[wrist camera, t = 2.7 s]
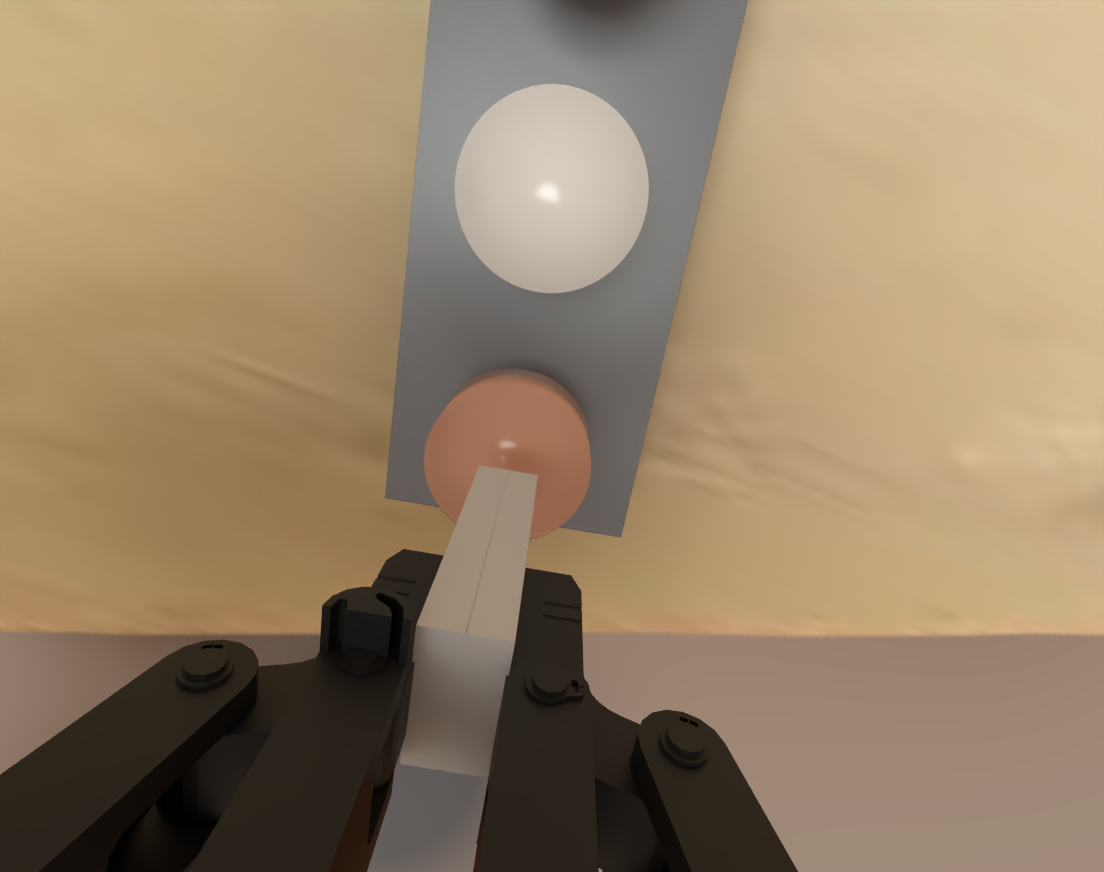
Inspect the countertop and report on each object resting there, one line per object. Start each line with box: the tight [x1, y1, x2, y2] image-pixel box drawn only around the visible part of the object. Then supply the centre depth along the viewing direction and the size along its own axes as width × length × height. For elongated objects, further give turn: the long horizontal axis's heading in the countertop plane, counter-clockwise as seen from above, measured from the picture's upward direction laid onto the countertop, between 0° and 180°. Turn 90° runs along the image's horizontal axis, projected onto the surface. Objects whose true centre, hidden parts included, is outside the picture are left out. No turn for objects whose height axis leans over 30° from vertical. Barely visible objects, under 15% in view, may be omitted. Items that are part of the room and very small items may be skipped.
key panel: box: [385, 0, 748, 537], centre depth 24 cm, size 10×25×6 cm, turn 170°
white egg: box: [455, 84, 649, 293], centre depth 20 cm, size 5×5×7 cm
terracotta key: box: [424, 369, 591, 540], centre depth 22 cm, size 5×5×7 cm
